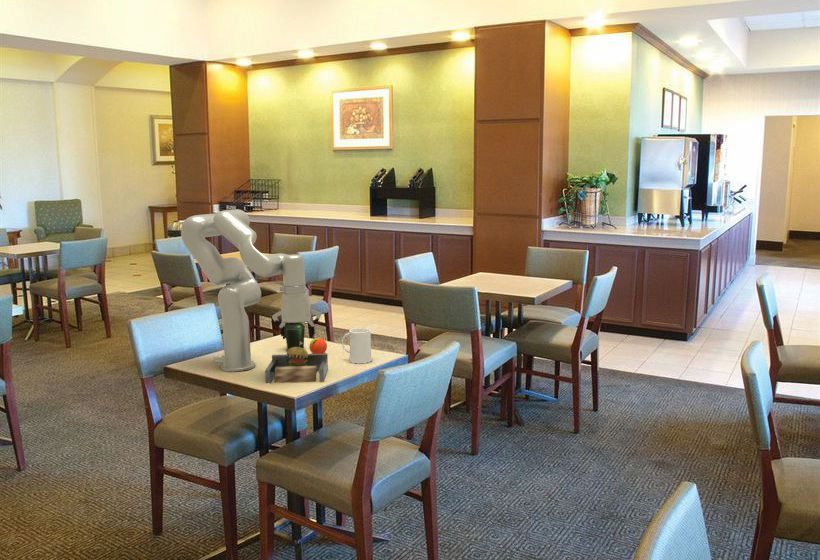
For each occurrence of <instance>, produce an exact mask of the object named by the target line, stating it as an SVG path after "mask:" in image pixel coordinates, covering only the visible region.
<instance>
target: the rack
mask: <svg viewBox="0 0 820 560" xmlns="http://www.w3.org/2000/svg"><path fill="white" fill-rule="evenodd" d="M328 356H329V355H328V353H323V354H313V353H308V358H306V360H307V365H306V366H317V372H318V377H319V383H324V382H325V379H326V377H327V374H328V371H329V364H328V363H329V360H328V358H329V357H328ZM291 358H295V357H293V356H291V357H290V358H289V355H287V354H272V355H271V360H270V363H269V364H268V366H267V367H266V368H265V373H264V374H265V375H264V376H265V384H271V382H272V381H273V379H274V376H275V368H276V367H288V366H289V363H288V362H289V360H290V359H291Z"/></svg>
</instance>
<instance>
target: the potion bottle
mask: <svg viewBox="0 0 820 560" xmlns="http://www.w3.org/2000/svg"><path fill="white" fill-rule="evenodd" d="M285 327H286V338H285V341H286V350H287V351H288V349H290V348H292V347H300V348H303V349H304V348H305V347H304V346H305V325H304V324H303V322H300V323H286V324H285ZM300 342H302V343H303V344H301V345H300V346H299V344H300Z"/></svg>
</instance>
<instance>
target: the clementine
mask: <svg viewBox="0 0 820 560" xmlns="http://www.w3.org/2000/svg"><path fill="white" fill-rule="evenodd" d="M308 347H309V351H310V352H311V354H326V351H327V350H328V344H327V342H326V340H325V339H323V338H321V337H314V338H313V339H312V340H311V341H310V343H309V346H308Z"/></svg>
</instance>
